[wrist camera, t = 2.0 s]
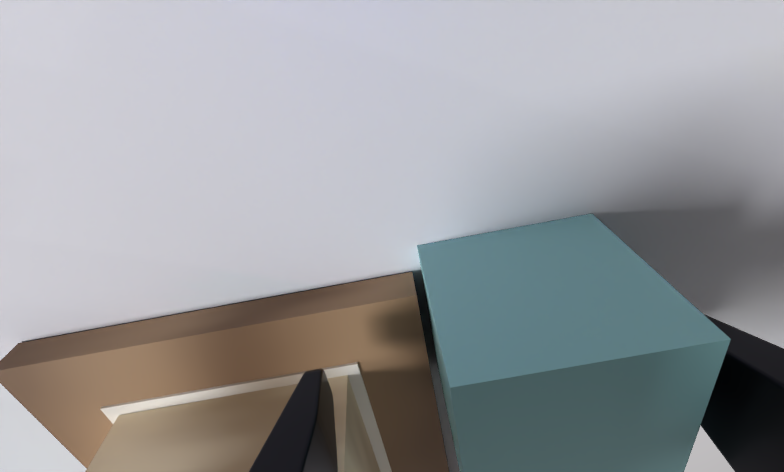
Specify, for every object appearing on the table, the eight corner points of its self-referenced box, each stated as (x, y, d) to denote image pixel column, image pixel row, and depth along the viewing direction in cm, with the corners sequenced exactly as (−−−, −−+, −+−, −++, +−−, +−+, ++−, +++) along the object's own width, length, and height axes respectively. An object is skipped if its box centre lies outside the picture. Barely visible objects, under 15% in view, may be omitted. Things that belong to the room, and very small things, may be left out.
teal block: (590, 212, 10) (730, 339, 6) (579, 338, 12) (677, 489, 9) (417, 244, 10) (450, 388, 6) (437, 363, 13) (470, 522, 9)
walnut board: (412, 271, 11) (417, 296, 10) (452, 489, 16) (457, 518, 15) (18, 343, 11) (-14, 374, 10) (189, 532, 17) (179, 563, 16)
